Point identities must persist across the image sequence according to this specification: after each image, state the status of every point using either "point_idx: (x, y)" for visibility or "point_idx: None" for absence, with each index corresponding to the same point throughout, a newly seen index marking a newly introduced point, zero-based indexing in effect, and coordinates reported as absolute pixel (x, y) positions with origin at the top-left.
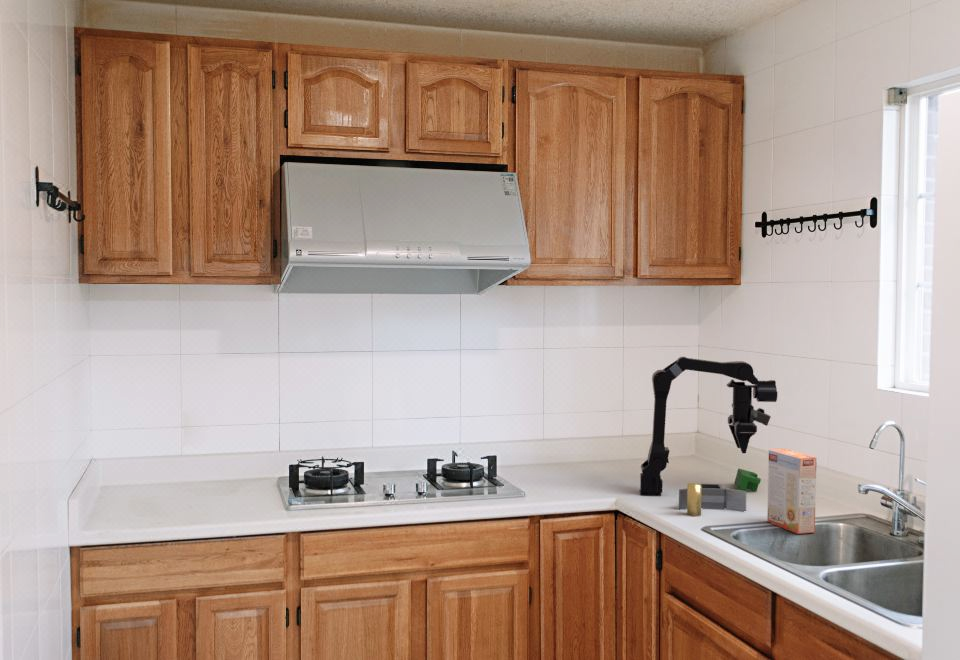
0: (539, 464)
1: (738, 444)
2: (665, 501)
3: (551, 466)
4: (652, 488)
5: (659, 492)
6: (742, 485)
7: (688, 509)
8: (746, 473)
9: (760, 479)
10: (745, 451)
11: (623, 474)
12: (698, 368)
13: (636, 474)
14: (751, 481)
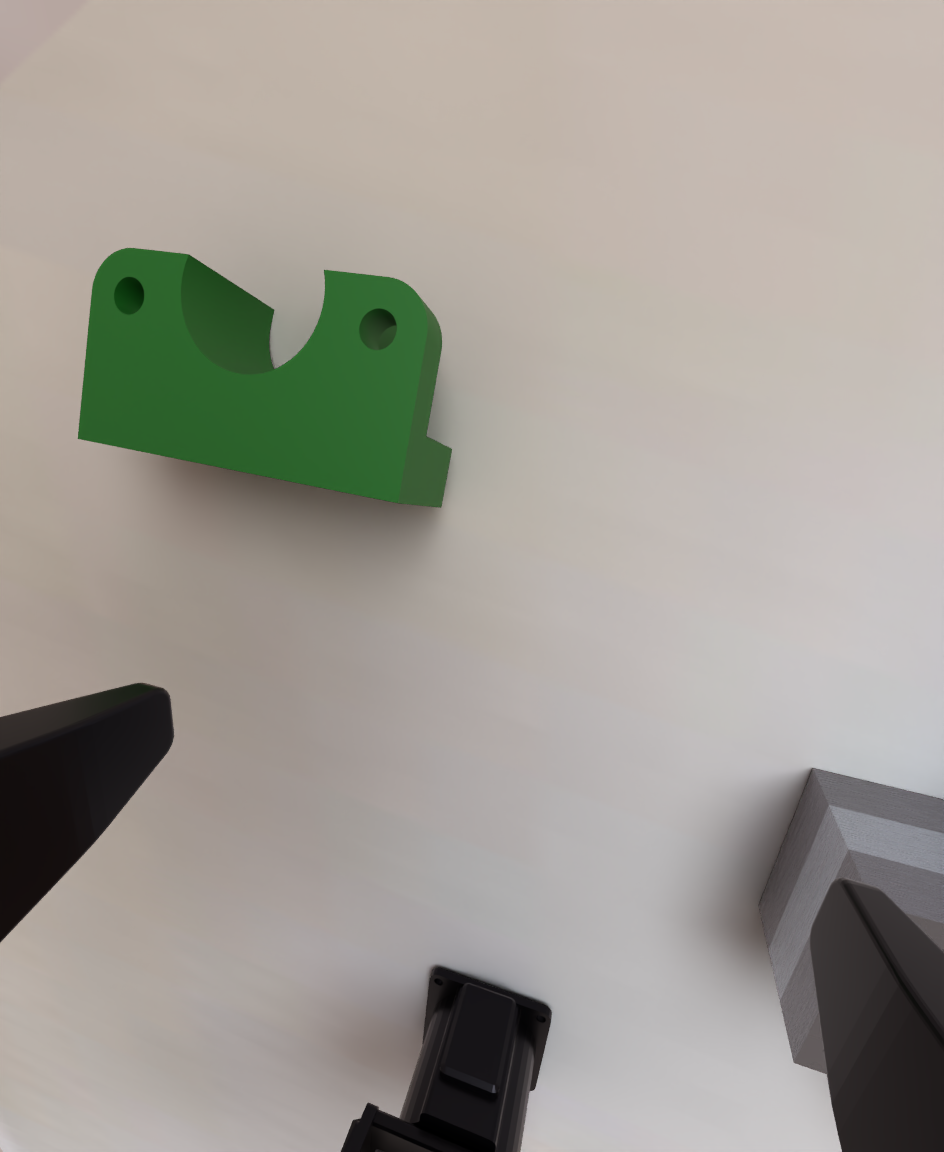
0: (8, 1118)
1: (113, 779)
2: (689, 1039)
3: (25, 1102)
4: (529, 1084)
5: (520, 1017)
6: (435, 485)
7: None
8: (243, 406)
9: (395, 284)
10: (912, 940)
11: (80, 944)
12: None
13: (64, 894)
14: (430, 402)
